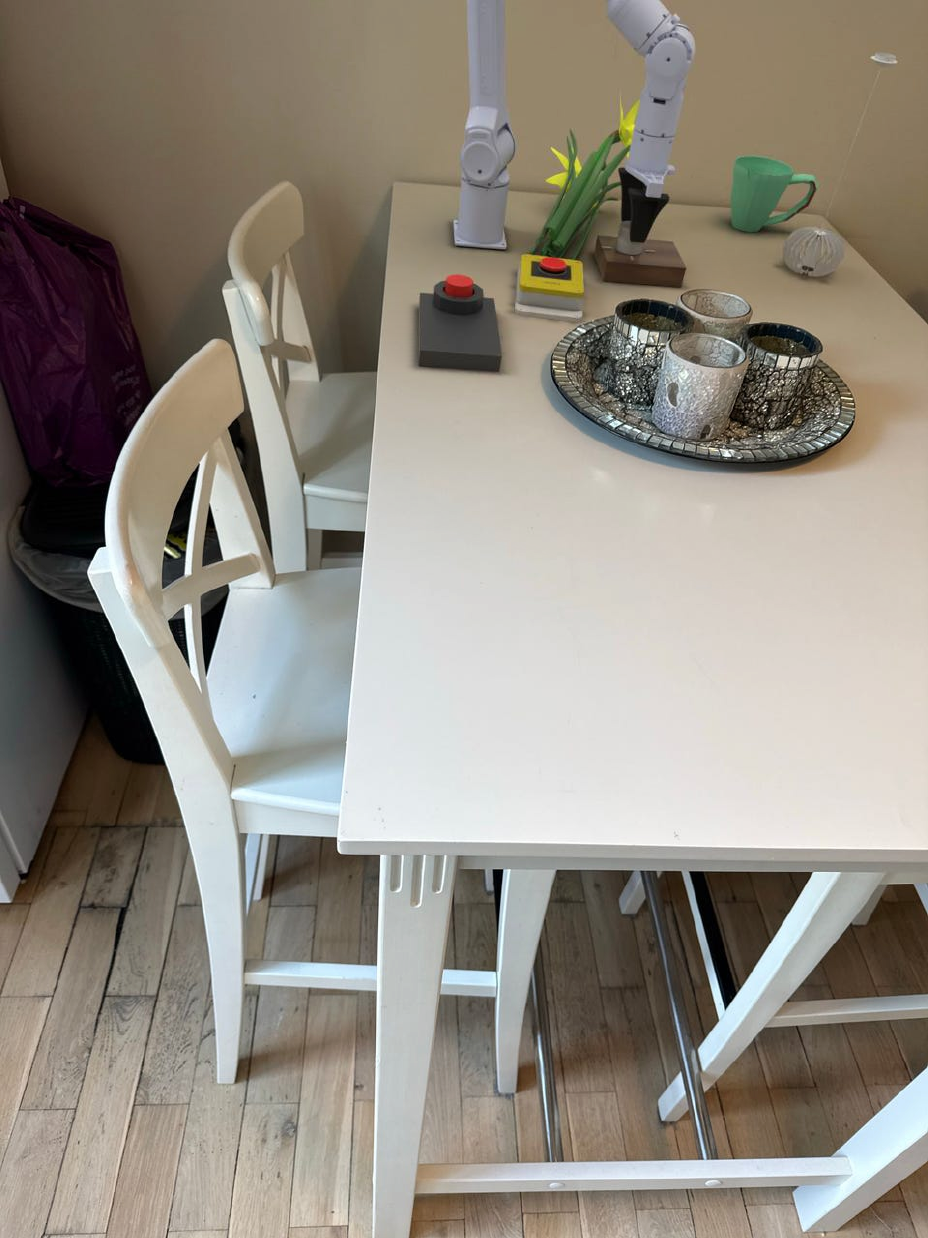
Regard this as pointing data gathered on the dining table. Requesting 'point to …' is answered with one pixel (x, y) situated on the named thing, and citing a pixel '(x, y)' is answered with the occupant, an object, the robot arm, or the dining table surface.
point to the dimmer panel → (640, 263)
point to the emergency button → (549, 288)
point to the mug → (763, 192)
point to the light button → (459, 286)
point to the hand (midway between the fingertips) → (632, 231)
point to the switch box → (458, 331)
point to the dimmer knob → (627, 240)
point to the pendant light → (825, 235)
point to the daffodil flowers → (583, 189)
